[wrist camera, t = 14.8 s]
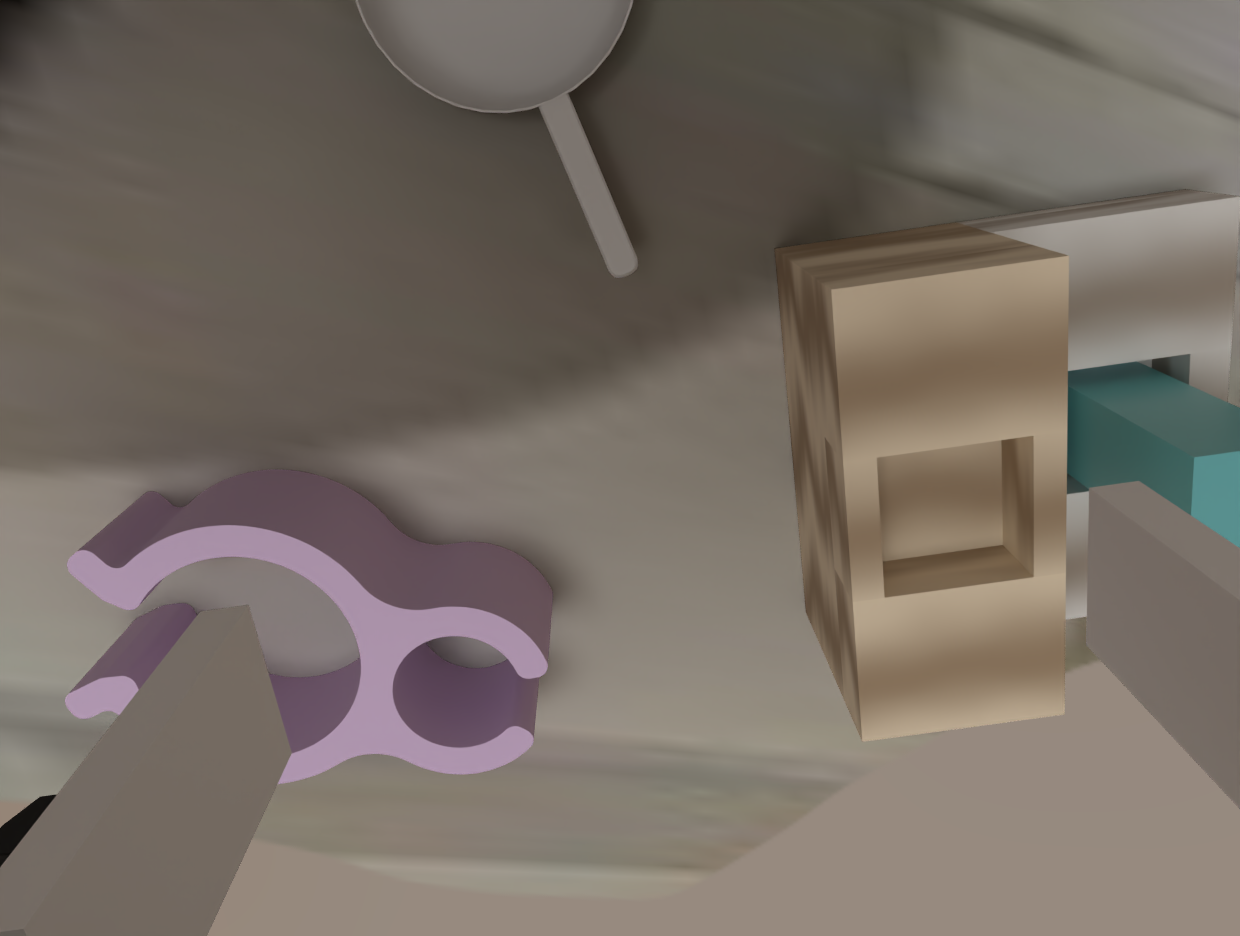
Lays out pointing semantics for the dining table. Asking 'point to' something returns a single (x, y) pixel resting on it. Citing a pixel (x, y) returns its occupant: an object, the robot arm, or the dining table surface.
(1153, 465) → the plug
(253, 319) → the dining table surface
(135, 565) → the clip
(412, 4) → the saucepan
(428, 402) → the dining table surface
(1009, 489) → the socket block
